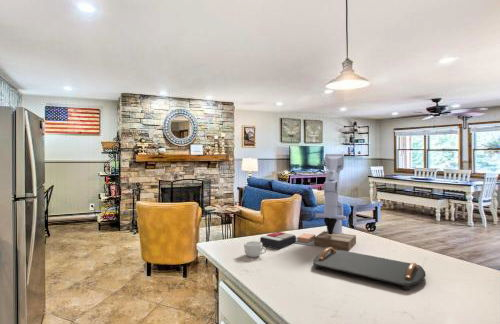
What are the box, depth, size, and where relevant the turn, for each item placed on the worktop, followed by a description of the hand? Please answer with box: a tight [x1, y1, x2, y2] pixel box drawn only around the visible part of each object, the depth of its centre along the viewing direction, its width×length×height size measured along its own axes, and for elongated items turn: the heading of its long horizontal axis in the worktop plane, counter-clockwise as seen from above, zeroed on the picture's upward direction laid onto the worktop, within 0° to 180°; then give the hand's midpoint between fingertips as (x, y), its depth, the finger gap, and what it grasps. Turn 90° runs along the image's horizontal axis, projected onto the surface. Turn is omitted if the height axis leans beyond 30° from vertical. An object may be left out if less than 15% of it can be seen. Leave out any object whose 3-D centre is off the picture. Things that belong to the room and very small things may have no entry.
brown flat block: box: [313, 230, 357, 252], centre depth 155 cm, size 14×16×4 cm
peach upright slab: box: [297, 232, 316, 243], centre depth 162 cm, size 9×6×2 cm, turn 149°
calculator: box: [259, 231, 297, 250], centre depth 156 cm, size 11×4×15 cm
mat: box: [293, 234, 314, 247], centre depth 163 cm, size 16×12×1 cm
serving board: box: [312, 247, 427, 292], centre depth 120 cm, size 39×23×6 cm, turn 52°
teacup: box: [243, 240, 267, 258], centre depth 138 cm, size 10×8×5 cm
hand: (330, 233), depth 156 cm, fingers closed
